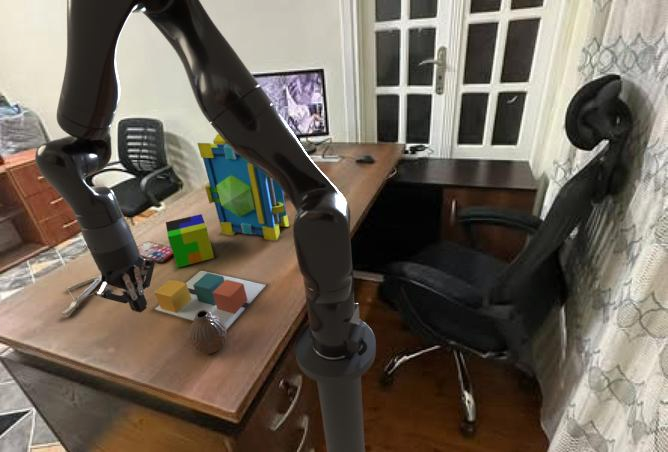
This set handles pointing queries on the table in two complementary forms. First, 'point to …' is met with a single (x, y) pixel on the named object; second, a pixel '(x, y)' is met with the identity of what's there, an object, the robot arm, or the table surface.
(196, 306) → the desk mat
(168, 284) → the mustard block
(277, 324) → the table surface
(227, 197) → the blue yellow-cornered frame
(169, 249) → the smartphone
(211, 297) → the teal block
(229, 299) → the terracotta block
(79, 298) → the crossbow
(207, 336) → the vase
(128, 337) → the table surface
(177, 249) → the puzzle toy
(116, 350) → the table surface
